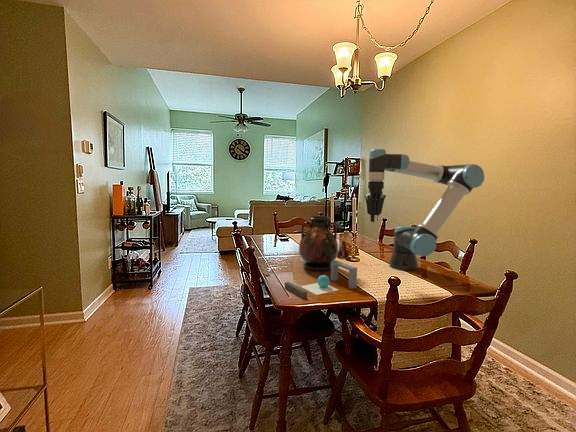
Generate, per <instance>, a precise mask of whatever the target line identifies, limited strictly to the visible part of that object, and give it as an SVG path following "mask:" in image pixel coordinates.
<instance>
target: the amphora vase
mask: <svg viewBox="0 0 576 432" xmlns="http://www.w3.org/2000/svg"><path fill="white" fill-rule="evenodd" d="M307 220H308V221H304V222H303V223H302V224H301V236H300V238H301V239H300V240H299V241H300V242H299V245H298V253H299V256H300V258H301V259H302V260H303V264H302V266H303V268H304V269H306V270H309V271H313V272H326V271H331V261H335V260H336V259H337V255H338V251H339V242H338V240H337V239H338V237H337V236H338V228H337V225H336V223H335V222H331V221H332V218H331V217H330V216H324V215H312V216H308V217H307ZM309 221H310V222H309ZM329 221H330V222H329ZM328 222H329V223H328ZM305 225H308V227H309V229H308V230H307V231H306V232H305V230H304V228H305ZM331 225H332V226H333V228H334V234H333V233H332V231H331V230H330V229H329V228H330V226H331Z"/></svg>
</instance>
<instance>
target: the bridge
mask: <svg viewBox="0 0 576 432" xmlns="http://www.w3.org/2000/svg"><path fill="white" fill-rule="evenodd" d="M339 267H340V268H343V269H345V270H347V271H348V288H349V289H357V284H358V283H357V281H358V267H356V266H353V265H350V264H348V263H345V262H341V261H340V260H339V261H338V260H336V259H335V260H334V261H331V269H330V278H329V280H330V281H332V282H333V281H334V282H335V281H339Z"/></svg>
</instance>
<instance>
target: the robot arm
mask: <svg viewBox="0 0 576 432" xmlns="http://www.w3.org/2000/svg"><path fill="white" fill-rule="evenodd" d="M368 159H369V160H368V183H367V188H368V192H367V194H364V199H365V202H366V203H365V204H366V211H367V215H369V216H370V229H377V228H378V227H377V226H378V221H379V220H378V219H379V216H381V214H382V212H383V207H384V203H385V199H386V197H387V196H386V195H385V194H383V190H384V188H385V187H384V186H385V182H384V180H385V172H392V173H397V174H402V175H407V176H412V177H417V178H422V179H427V180H432V181H433V182H434V183H437V184H441V185H446V186H448V187H447V188H446V190H445V191H444V192H443V193H442V195H441V196H440V197H439V199H438V200H437V202H436V203H435V205H434V206H433V208H432V209H431V210H430V212H429V213H428V215H427V216H426V218H424V220H423V222H422V223H421V224H416V226H396V227H395V228H394V235H393V236H394V237H393V240H394V241H393V252H392V256H391V258H390V260H389V267H391V268H393V269H396V270H402V271H416V270H419V269H418V268H419V263H418V259H417V256H419V257H427V256H430V255H432V254H433V253H434V252H435V250H436V249H437V240H438V238H439V235H438V233H439V231H440V230H441V228H442V227H443V225H444V224H445V223H446V221H447V220H448V219H449V217H450V215H452V213H453V211H454V210H455V208H456V207H457V206H458V204H459V203H460V202H461V201H462V199H463V198H464V197H465V196H467V195H470V193H471V192H472V191H473V189H474V188H475V189H476V188H479V187H480V186H482V184H483V183H484V181H485V173H484V170H483V168H482V167H481V166H479V164H475V163H468V164H467V163H466V164H457V165H456V164H455V165H442V164H438V165H433V164H427V163H422V162H417V161H412V160H410V157H409V155H408V154H405V153H404V154H402V153H387V151H386V149H383V148H373V149H371V150H370V151H369V158H368Z"/></svg>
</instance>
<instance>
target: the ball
mask: <svg viewBox="0 0 576 432" xmlns="http://www.w3.org/2000/svg"><path fill="white" fill-rule="evenodd" d="M316 283H318V285H319V286H320V287H323V288H325V287H327V286H328V285H329V286H330V283H331V280H330V278H329V276H327V275H325V274H322V275H319V276H318V278H317V281H316Z"/></svg>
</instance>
